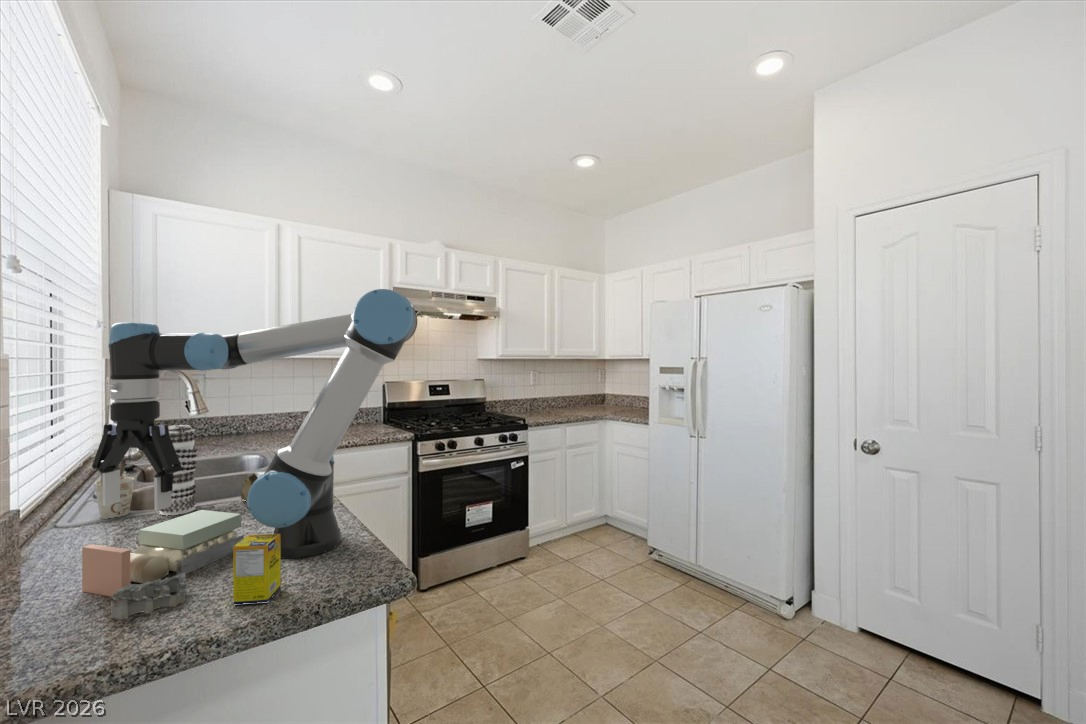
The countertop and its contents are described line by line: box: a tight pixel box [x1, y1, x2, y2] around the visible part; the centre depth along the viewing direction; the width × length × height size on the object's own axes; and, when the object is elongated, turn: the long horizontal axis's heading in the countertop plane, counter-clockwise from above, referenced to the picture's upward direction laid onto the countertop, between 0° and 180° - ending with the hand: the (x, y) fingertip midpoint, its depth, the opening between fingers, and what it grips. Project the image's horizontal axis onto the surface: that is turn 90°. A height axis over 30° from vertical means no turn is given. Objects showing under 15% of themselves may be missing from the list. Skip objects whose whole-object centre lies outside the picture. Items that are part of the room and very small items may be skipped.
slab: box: [138, 509, 242, 550], centre depth 106 cm, size 12×14×3 cm
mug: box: [94, 476, 135, 520], centre depth 135 cm, size 8×13×10 cm, turn 58°
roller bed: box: [133, 530, 245, 576], centre depth 105 cm, size 14×16×5 cm
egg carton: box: [109, 572, 187, 620], centre depth 86 cm, size 11×8×4 cm
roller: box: [130, 552, 168, 584], centre depth 95 cm, size 9×5×5 cm, turn 76°
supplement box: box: [232, 533, 282, 605], centre depth 88 cm, size 6×6×11 cm
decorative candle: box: [158, 424, 198, 517], centre depth 138 cm, size 9×9×25 cm
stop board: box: [81, 543, 131, 598], centre depth 90 cm, size 10×2×8 cm, turn 76°
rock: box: [240, 472, 259, 501], centre depth 147 cm, size 11×9×10 cm
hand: (136, 506), depth 95 cm, fingers open, 13 cm apart
